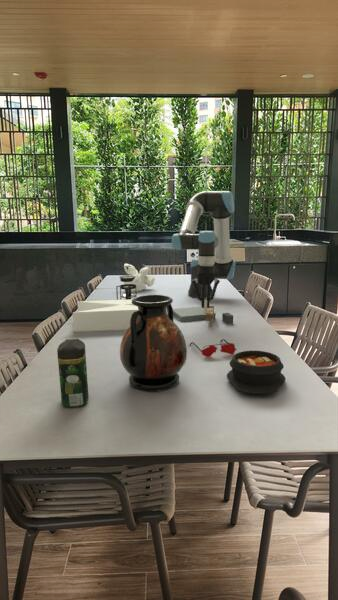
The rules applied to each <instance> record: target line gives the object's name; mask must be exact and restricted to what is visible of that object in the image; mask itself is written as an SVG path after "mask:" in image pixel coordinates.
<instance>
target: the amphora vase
mask: <svg viewBox="0 0 338 600" xmlns="http://www.w3.org/2000/svg"><path fill="white" fill-rule="evenodd" d="M131 299H132V301H131V302H132V304H133V305H135V306H137V307H138V310H139V311H135V312H133V314H132V316H131V319H130V326H129V327H128V328H127V329H125V331H124V334H123V336H122V337H121V338H122V339H121V342H120V346H119V358H120V362H121V364H122V367H123V369H124V370H125V371H126V372H127V373H128V374H129V376H128V382H129V384H130V385H131V386H132V387H133V388H135V389H138V390H142V391H146V390H147V391H148V392H159V391H164V389H165V390H167V389H168V390H169V389H170V388H173V387H174V386H176V385H177V384H178V383H179V381H180V375H179V372H180V371H181V370H182V369H183V367H184V366H185V364H186V361H187V357H188V356H187V353H188V350H187V345H186V344H187V343H186V339H185V336H184V334H183V332H182V330H181V328H179V326H178V325H177V324H176V323H175V322H174V316H173V309H174V308H173V306H172V304H173V298H172V297H170V296H168V295H164V294H145V295H144V294H143V295H138V296H137V297H133V298H131ZM166 307H167V312H168V315H167V313H166ZM158 390H159V391H158Z"/></svg>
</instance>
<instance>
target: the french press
mask: <svg viewBox="0 0 338 600" xmlns="http://www.w3.org/2000/svg"><path fill="white" fill-rule="evenodd" d="M129 265H130V264H129ZM129 265H126V266H124V265H123V268H124V267H126V269H127V273H126V275H121V276H119V278H120V279H119V280H120V282H121V283H122V282H123V283H122V284H120V285H116V287H115V289H116V300H122V299H124V300H128V299H134V298H135V297H138V296H137V294H136V293H135V294H134V293H132V292H131V289H136V285H135V284H124V282H132V281H133V280H134V279H135V278H136V276H132V275H130V274H128V267H131V266H129ZM126 286H128V287H126ZM131 286H132V287H131ZM118 288H119V292H118ZM122 290H124V291H125V292H124V294H122ZM119 295H120V296H119Z"/></svg>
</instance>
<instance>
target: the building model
mask: <svg viewBox="0 0 338 600" xmlns="http://www.w3.org/2000/svg"><path fill="white" fill-rule="evenodd" d="M132 299H133V298H131V299H128V300H125V299H121V300H120V299H118V300H117V299H111V300H110V299H106V300H104V299H103V300H83V301H82V300H80V301H79V300H78V301H77V303H76V304H77V311H74V312H72V322H73V332H74V333H76V332H77V333H78V332H98V331H100V332H101V331H117V330H118V331H119V330H127V328H128V327H129V326H130V319H131V316H132V314H133V312H135V311H139V310H138V307H137V306H135V305H133V304H132V302H131V301H132ZM166 313H167V315H168V312H167V307H166Z"/></svg>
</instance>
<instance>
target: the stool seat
mask: <svg viewBox="0 0 338 600" xmlns="http://www.w3.org/2000/svg"><path fill="white" fill-rule="evenodd" d="M216 314H217V313H215V312H214V315H213V319H216ZM173 317H174V318H175V319H177V320H178V321H179V322H191V321H202V320H206V315H204V308H202V306H191V307H181V308H179V307H178V308H173Z"/></svg>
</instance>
